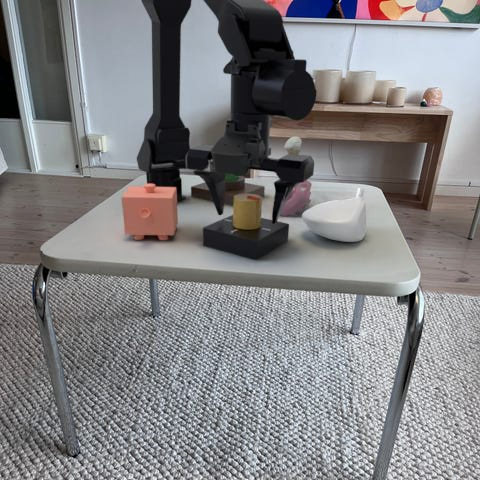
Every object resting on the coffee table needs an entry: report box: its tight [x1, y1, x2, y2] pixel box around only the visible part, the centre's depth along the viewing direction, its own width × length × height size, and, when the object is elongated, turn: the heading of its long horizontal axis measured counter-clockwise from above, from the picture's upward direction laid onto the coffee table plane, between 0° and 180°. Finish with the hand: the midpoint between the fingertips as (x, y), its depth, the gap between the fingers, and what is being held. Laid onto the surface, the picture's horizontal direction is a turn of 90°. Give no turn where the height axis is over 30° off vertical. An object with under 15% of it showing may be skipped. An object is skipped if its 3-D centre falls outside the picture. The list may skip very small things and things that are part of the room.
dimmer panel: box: [202, 214, 290, 261], centre depth 76 cm, size 10×10×3 cm
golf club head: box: [301, 187, 367, 243], centre depth 80 cm, size 10×11×12 cm
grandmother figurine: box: [274, 135, 303, 197], centre depth 95 cm, size 8×4×13 cm, turn 66°
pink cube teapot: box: [121, 183, 179, 241], centre depth 77 cm, size 8×12×8 cm, turn 1°
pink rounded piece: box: [280, 179, 313, 217], centre depth 92 cm, size 10×5×7 cm, turn 172°
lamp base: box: [190, 175, 266, 207], centre depth 100 cm, size 12×10×4 cm
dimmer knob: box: [232, 194, 263, 230], centre depth 74 cm, size 4×4×5 cm
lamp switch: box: [225, 174, 238, 181], centre depth 99 cm, size 4×4×2 cm
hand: (246, 218), depth 75 cm, fingers open, 9 cm apart
